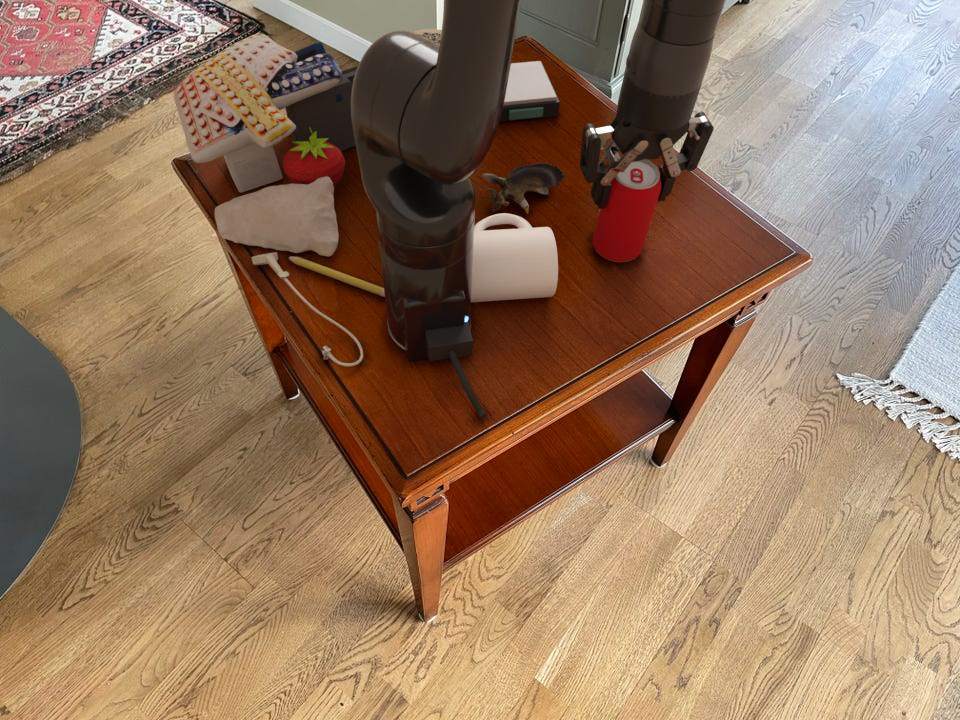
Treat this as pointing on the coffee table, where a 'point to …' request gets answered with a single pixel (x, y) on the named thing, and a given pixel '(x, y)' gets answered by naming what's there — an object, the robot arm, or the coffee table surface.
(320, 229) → the decorative stone
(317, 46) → the blue flat block
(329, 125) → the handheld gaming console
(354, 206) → the coffee table surface
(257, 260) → the white cable
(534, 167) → the eagle figurine
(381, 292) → the pencil
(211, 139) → the pill blister packs
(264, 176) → the product carton
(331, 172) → the red tomato pincushion
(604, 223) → the beverage can
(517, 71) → the scale
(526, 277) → the mug
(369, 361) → the coffee table surface
